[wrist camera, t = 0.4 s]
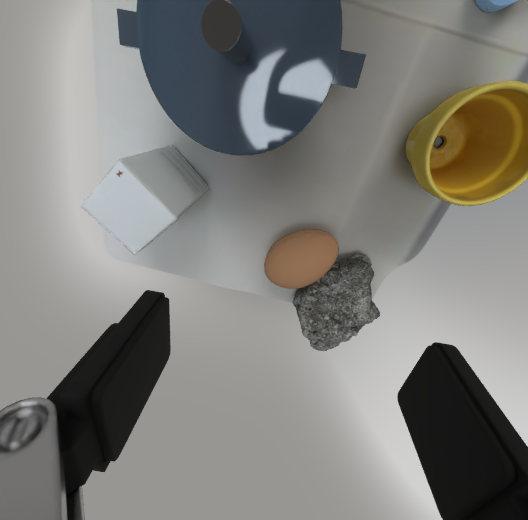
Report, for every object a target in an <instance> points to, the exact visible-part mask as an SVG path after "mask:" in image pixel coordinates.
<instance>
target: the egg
mask: <svg viewBox="0 0 528 520" xmlns="http://www.w3.org/2000/svg"><path fill="white" fill-rule="evenodd" d="M338 250H339V248H338V243H337V241H336V239H335V238H334V237H333V236H332V235H330V234H329V233H327V232H324V231H321V230H302V231H297V232H294V233H291V234H289V235H286V236H284V237H283V238H281V239H280V240H278V241H277V242H276V243H275V244H274V245H273V246H272V247H271V249H270V250H269V252H268V254H267V256H266V259H265V264H264V267H265V273H266V276H267V277H268V279H269V280H270V281H271V282H273V283H274V284H275V285H278V286H280V287H284V288H291V289H296V288H302V287H305V286H308V285H310V284H312V283H314V282H316V281H317V280H319V279H320V278H322V277H323V276H324V275H325V274H326V273H327V272H328V271H329V270H330V268H331V267H332V265H333V264H334V263H335V261H336V259H337V256H338Z"/></svg>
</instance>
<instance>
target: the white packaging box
mask: <svg viewBox="0 0 528 520" xmlns="http://www.w3.org/2000/svg"><path fill="white" fill-rule="evenodd" d="M208 189H209V186H208V185H207V184H206V183H205V181H204V180H203V179H202V178H201V177H200V176H199V174H198V173H197V172H196V171H195V170H194V169H193V168H192V167H191V165H190V164H189V163H188V162H187V161H186V160H185V159H184V158H183V156H182V155H181V154H180V153H179V152H178V151H177V150H176V149H175V147H174V146H173V145H172V146H168V147H164V148H160V149H157V150H153V151H149V152H145V153H142V154H138V155H134V156H130V157H126V158H122V159H119V160H118V161H117V163H116V164H115V165H114V166H113V168H112V169H111V170H110V171H109V172H108V174H107V175H106V176H105V177H104V179H103V180H102V181H101V182H100V183H99V185H98V186H97V187H96V188H95V189H94V191H93V192H92V193H91V194H90V195H89V196H88V198H87V199H86V200H85V201H84V202H83V204H82V205H81V208H83V209H84V210H85V211H86V212H87V213H88V214H89V215H90V216H92V217H93V218H94V219H95V220H96V221H97V222H98V223H99V224H101V225H102V226H103V227H104V228H105V229H106V230H107V231H108V232H109V233H110V234H112V235H113V236H114V237H115V238H116V239H117V240H118V241H119V242H121V243H122V244H123V245H124V246H125V247H126V248H127V249H128V250H129V251H130V252H132V253H133V254H134V255H136V254H137V253H138V252H139V251H141V250H142V249H143V248H144V247H146V246H147V245H148V244H149V243H150V242H152V241H153V240H154V239H155V238H156V237H158V236H159V235H160V234H161V233H162V232H163V231H165V230H166V229H167V228H168V227H169V226H170V225H172V224H173V223H174V222H175V221H176V220H177V219H178V218H179V217H180V216H181V215H182V214H183V213H184V212H185V211H186V210H187V209H188V208H189V207H190V206H191V205H192V204H193V203H194V202H195V201H197V200H198V199H199V198H200V197H201V196H202V195H203V194H204V193H205V192H206V191H207V190H208Z"/></svg>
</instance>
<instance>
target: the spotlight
mask: <svg viewBox="0 0 528 520" xmlns="http://www.w3.org/2000/svg"><path fill="white" fill-rule="evenodd" d="M517 1H518V0H475V2H476V4H477V6H478V7H479V8H480V9H481V10H483V11H485V12H496V11H499V10H501V9H503V8H505V7H507V6H509V5H511V4H513V3H515V2H517Z"/></svg>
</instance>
